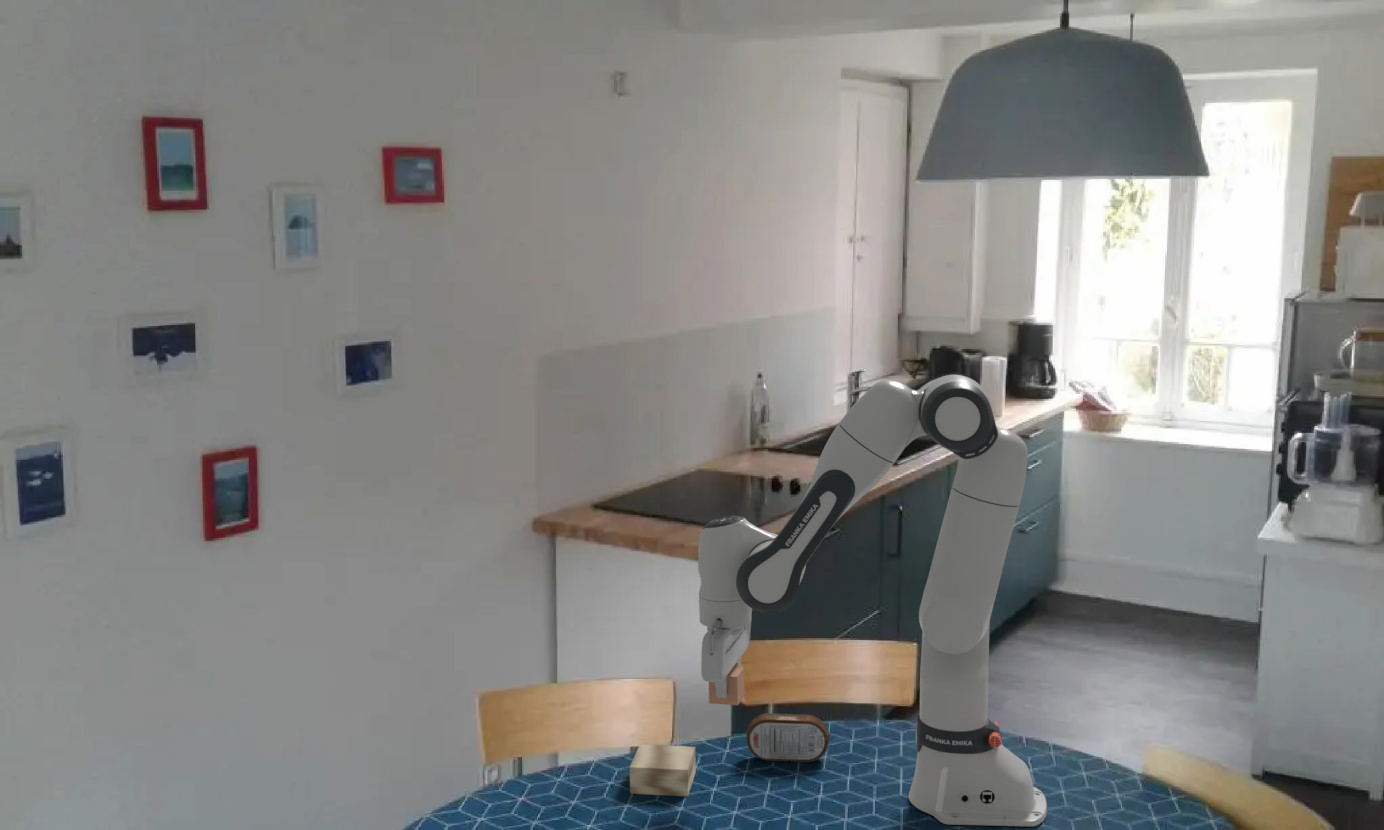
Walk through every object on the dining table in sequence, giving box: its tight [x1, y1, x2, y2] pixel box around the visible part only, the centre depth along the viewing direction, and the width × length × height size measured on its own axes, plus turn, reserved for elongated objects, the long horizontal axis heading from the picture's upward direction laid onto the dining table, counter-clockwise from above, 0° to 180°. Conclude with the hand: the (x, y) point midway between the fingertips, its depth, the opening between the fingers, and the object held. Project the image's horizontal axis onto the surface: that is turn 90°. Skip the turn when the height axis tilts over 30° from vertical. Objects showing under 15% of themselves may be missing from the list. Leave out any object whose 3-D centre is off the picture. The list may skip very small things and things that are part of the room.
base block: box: [629, 744, 697, 797], centre depth 220 cm, size 10×10×5 cm
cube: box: [708, 666, 746, 706], centre depth 216 cm, size 5×5×5 cm
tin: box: [745, 712, 830, 763], centre depth 229 cm, size 15×3×8 cm, turn 84°
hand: (726, 689), depth 216 cm, fingers closed on cube, 5 cm apart
